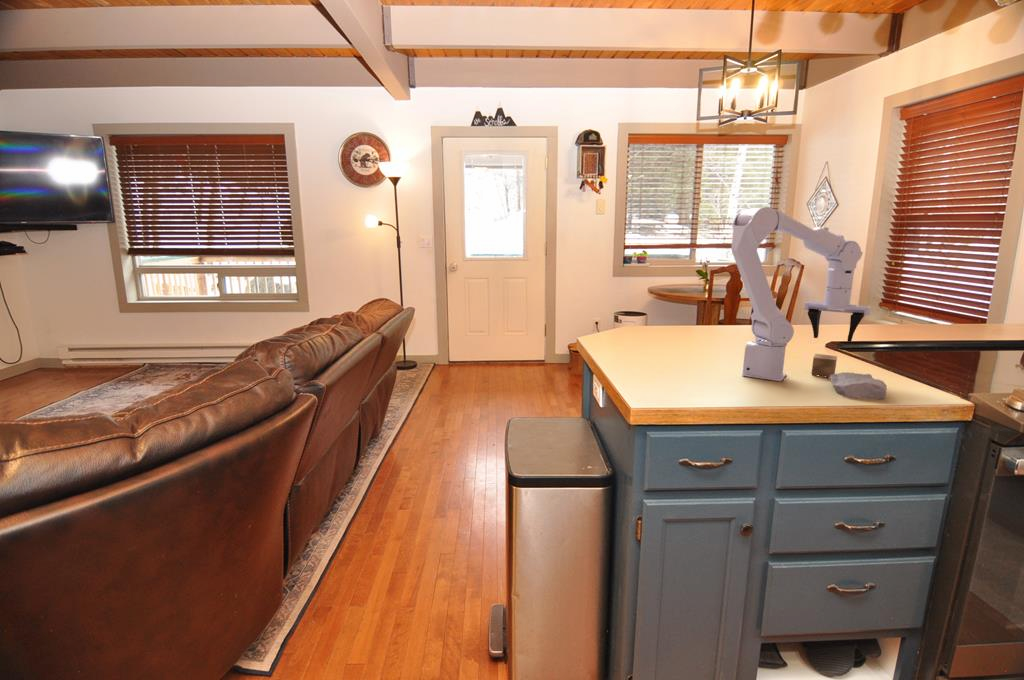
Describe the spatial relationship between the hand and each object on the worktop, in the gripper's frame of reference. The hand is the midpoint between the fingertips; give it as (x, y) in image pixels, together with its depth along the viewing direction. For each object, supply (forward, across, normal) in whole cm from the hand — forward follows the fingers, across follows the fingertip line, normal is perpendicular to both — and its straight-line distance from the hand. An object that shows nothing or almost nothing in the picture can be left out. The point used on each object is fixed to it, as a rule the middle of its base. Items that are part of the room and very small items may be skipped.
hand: (832, 339), depth 138 cm
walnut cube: (+10, +1, +1) cm, 10 cm away
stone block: (+10, -7, +12) cm, 17 cm away
